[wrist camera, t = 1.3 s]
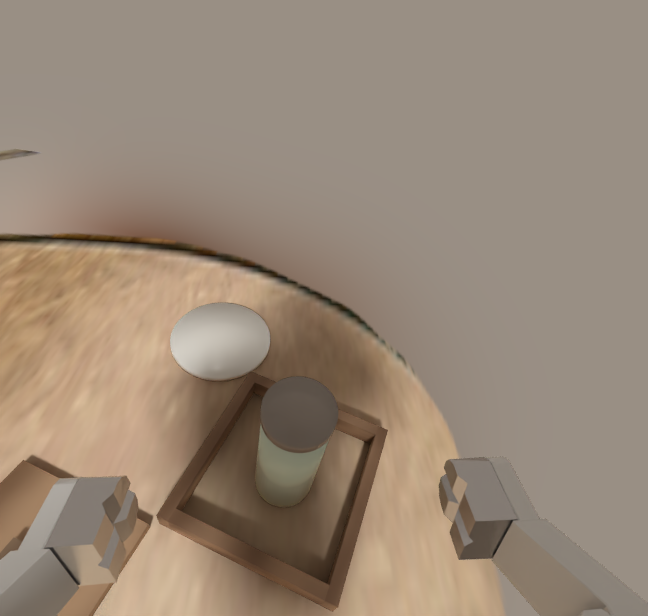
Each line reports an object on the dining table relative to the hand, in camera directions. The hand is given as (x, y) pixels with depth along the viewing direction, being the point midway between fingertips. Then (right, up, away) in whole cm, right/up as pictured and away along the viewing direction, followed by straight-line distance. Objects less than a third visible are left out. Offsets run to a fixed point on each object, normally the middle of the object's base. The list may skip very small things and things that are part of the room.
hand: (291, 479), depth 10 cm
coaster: (-11, +1, +35) cm, 37 cm away
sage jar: (-3, -11, +26) cm, 28 cm away
